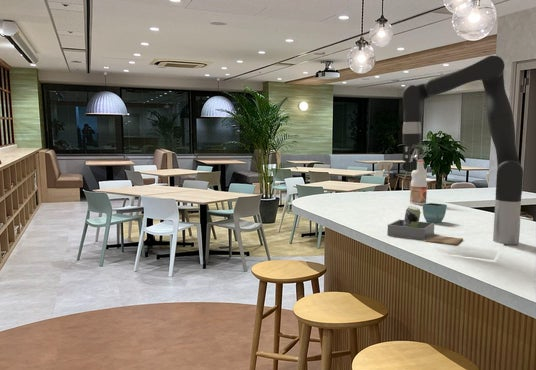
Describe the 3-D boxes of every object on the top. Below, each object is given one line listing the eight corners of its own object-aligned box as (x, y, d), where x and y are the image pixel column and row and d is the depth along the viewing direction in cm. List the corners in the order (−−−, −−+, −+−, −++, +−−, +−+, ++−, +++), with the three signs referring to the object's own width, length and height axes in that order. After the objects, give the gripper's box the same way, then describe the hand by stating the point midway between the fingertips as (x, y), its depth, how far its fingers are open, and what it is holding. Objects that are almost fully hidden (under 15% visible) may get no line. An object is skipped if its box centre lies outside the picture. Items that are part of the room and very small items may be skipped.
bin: (434, 233, 208) (434, 223, 208) (424, 239, 195) (424, 228, 195) (398, 229, 217) (399, 219, 216) (387, 235, 204) (387, 224, 203)
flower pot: (429, 220, 241) (430, 202, 240) (446, 222, 235) (447, 204, 234) (421, 222, 235) (421, 204, 234) (438, 224, 229) (439, 206, 228)
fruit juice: (408, 204, 294) (410, 159, 292) (424, 204, 293) (426, 159, 291) (411, 206, 285) (413, 160, 282) (427, 207, 284) (429, 160, 281)
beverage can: (405, 232, 211) (406, 205, 210) (422, 234, 206) (423, 206, 205) (399, 234, 206) (400, 206, 205) (416, 236, 201) (417, 208, 200)
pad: (462, 239, 196) (462, 238, 196) (456, 245, 186) (456, 244, 186) (432, 236, 202) (432, 235, 202) (425, 241, 192) (425, 240, 192)
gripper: (415, 132, 196) (414, 172, 198) (425, 132, 208) (424, 169, 210) (397, 133, 200) (397, 171, 202) (408, 133, 212) (407, 169, 214)
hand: (411, 170), depth 206 cm, fingers open, 8 cm apart
